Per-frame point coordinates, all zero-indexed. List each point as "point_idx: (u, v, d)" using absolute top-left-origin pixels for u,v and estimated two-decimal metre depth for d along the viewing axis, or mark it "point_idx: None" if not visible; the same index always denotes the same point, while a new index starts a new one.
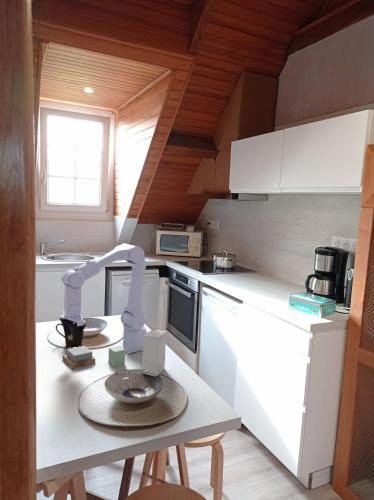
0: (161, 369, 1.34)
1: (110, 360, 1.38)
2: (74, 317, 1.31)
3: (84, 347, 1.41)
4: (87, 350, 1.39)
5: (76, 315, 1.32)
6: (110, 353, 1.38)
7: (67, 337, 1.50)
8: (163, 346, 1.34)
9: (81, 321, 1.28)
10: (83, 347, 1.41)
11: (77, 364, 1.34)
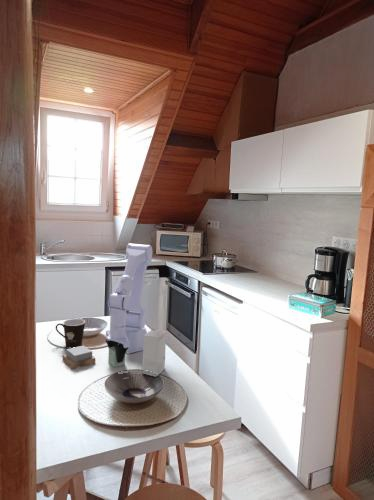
0: (161, 369, 1.34)
1: (110, 360, 1.38)
2: (120, 339, 1.35)
3: (83, 347, 1.41)
4: (87, 350, 1.39)
5: (122, 337, 1.36)
6: (110, 353, 1.38)
7: (67, 337, 1.50)
8: (163, 346, 1.34)
9: (128, 343, 1.32)
10: (82, 347, 1.41)
11: (77, 363, 1.34)
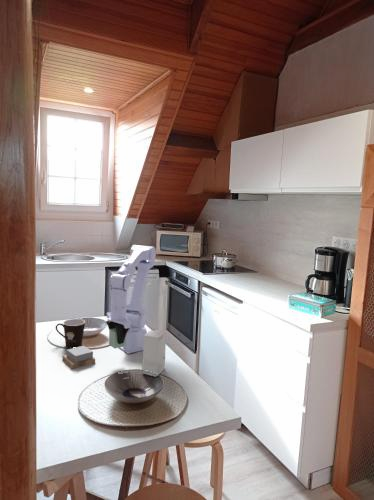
0: (161, 369, 1.34)
1: (111, 341, 1.37)
2: (121, 320, 1.34)
3: (83, 347, 1.42)
4: (87, 350, 1.39)
5: (122, 318, 1.35)
6: (111, 334, 1.37)
7: (67, 337, 1.50)
8: (163, 346, 1.34)
9: (128, 324, 1.31)
10: (82, 347, 1.42)
11: (77, 364, 1.34)
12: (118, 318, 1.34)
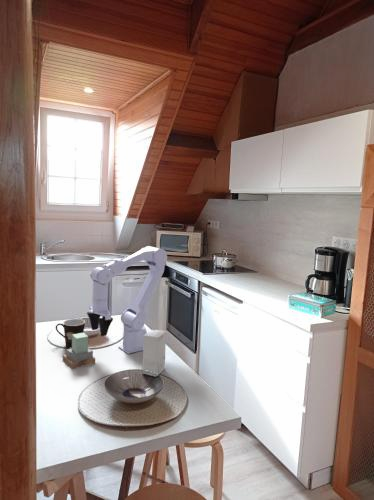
0: (161, 369, 1.34)
1: (73, 347, 1.37)
2: (102, 311, 1.39)
3: None
4: None
5: (104, 310, 1.39)
6: (73, 340, 1.37)
7: (67, 337, 1.50)
8: (163, 346, 1.34)
9: (109, 315, 1.36)
10: None
11: (77, 364, 1.34)
12: (99, 310, 1.39)
